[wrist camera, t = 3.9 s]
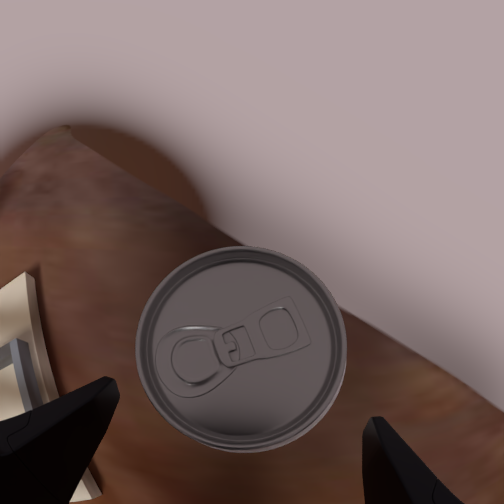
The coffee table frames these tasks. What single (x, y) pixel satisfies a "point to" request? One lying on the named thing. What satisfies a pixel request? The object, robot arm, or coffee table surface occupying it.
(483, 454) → the coffee table surface
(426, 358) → the coffee table surface
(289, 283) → the can
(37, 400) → the collar board
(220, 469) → the coffee table surface
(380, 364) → the coffee table surface
